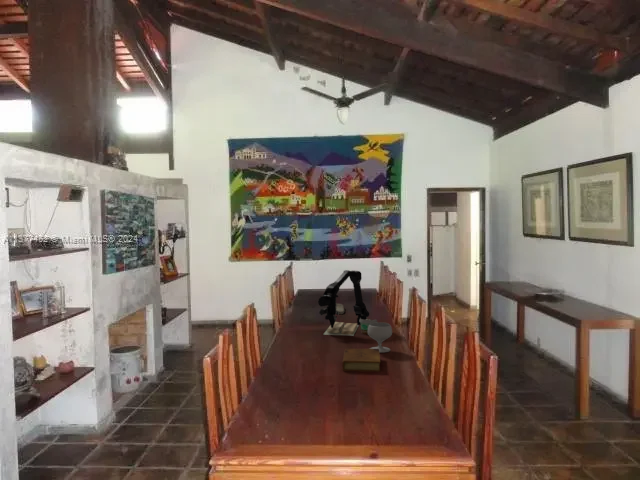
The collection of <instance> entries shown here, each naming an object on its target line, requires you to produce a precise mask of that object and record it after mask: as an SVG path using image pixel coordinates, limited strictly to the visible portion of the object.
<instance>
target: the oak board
mask: <svg viewBox="0 0 640 480" xmlns="http://www.w3.org/2000/svg"><path fill="white" fill-rule="evenodd" d="M344 325H345V326H344V328H343V329H342V331H341V334H353V333H354V331H355V329H356V327H357V325H358V324H357V322H356V323H353V322H352V323H351V322H346V323H345V324H344Z"/></svg>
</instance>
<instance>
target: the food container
mask: <svg viewBox="0 0 640 480" xmlns="http://www.w3.org/2000/svg"><path fill="white" fill-rule="evenodd" d="M359 322H360V323H361V325H360V332H361V334H362V335H368V327H369V325H370V324H371V323H376V322H378V319H376V318H375V319H370V318H367V319H361V318H360V320H359ZM368 336H369V335H368Z"/></svg>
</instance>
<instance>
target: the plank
mask: <svg viewBox="0 0 640 480" xmlns="http://www.w3.org/2000/svg"><path fill="white" fill-rule="evenodd" d="M344 325H345V322H341V321H340V322H339V321H335V324H334V326H333V328H331V325H329V326H330V327H328V328H327V329H326V330H327V332H328V333H340V331H341V330H342V328H343V327H344Z"/></svg>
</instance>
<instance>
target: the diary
mask: <svg viewBox="0 0 640 480" xmlns="http://www.w3.org/2000/svg"><path fill="white" fill-rule="evenodd" d="M380 364H381V355H380V353H379V349H370V348H347V347H346V348H345V349H344V351H343V356H342V365H341V366H342V369H341V370H342V371H343V372H372V373H373V372H374V373H375V372H377V373H378V372H379V373H380V372H381V365H380Z"/></svg>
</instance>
